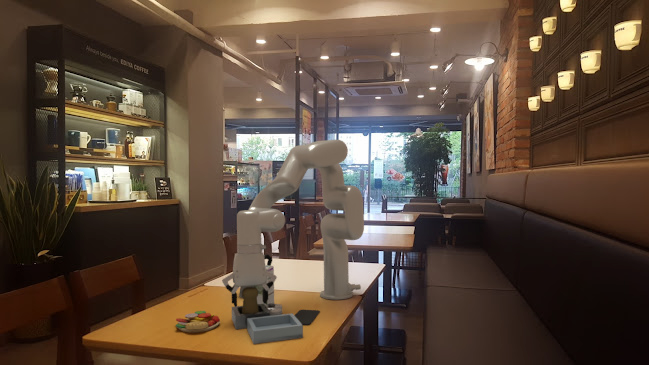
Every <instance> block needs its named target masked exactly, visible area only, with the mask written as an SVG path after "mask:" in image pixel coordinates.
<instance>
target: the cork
mask: <svg viewBox="0 0 649 365" xmlns="http://www.w3.org/2000/svg"><path fill="white" fill-rule="evenodd" d="M257 296H258V289H257V288H255V287H246V288H244V289H243V290H242V297H243V298H244V299H243V298H242V299H243V300H242V306H243V308H242V314H247V313H257V312H259V310H258V304H257Z"/></svg>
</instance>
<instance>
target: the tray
mask: <svg viewBox="0 0 649 365" xmlns="http://www.w3.org/2000/svg"><path fill="white" fill-rule="evenodd" d="M294 315H295V314H294V313H284V314H283V313H282V315H274V316H265V317H256V318H247V328H246V329H247V333H248V335H249V337H250V339H251V341H252V343H253V344H252V345H257V344H263V343H271V342H280V341H287V340H296V339H302V338H304V325H302V324H301V323H300V322H299V320H298V319H297V318H296V317H295V316H294Z"/></svg>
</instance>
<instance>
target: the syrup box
mask: <svg viewBox="0 0 649 365" xmlns="http://www.w3.org/2000/svg"><path fill="white" fill-rule="evenodd" d="M265 266H266V271H268V272H270V273H272V274H274V275H275V269H274V265H271V266H268V265H267V264H265ZM270 280H271V277H269V276H267V275H266V283H265V284H266V285H267V283H268V282H269V281H270ZM253 287H255V288H257V289H258V296H257V304H264V305H266V304H270V303H274V304H275V283H274V284H273V285H272V286H271V288H270V289H269V291H268V300H266V304H265V303H263V293H262V290H263V288H264V287H263V286H262V285H256V286H253Z"/></svg>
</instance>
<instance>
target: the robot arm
mask: <svg viewBox="0 0 649 365" xmlns="http://www.w3.org/2000/svg"><path fill="white" fill-rule="evenodd" d="M348 153H349V148H348V146H347V144H346V143H345V142H344V141H343V140H341V139H330V140H329V139H326V140H317V141H312V142H310V143H309V144H302V145H301V144H299V145H296V146H295V145H294V147H292V148H291V149H290V151H289V152H288V154H287V155H286V157H285V159H284V161H283V163H282V165H281V167H280V169H279V170H278V172H277V174H276V176H275V177H274V179H273V180H272V181H271V182H269V183H268V184H267V185H266V186H265V187H264V188H262V190H260V192H258V194H257V195H256V196H255V197H254V199H253V200H252V202H251V205H250V206H249V208H248V210H245V209H244V210H239V211H238V213H236V239H237V240H236V251H237V253H235V254H234V257H233V260H234V261H233V265H232V266H233V267H232V273H230V274H229V275H227V276H226V277H224V278H222V280H221V282H222V284H223V285H224V287H225V289H226V290H228V291H229V293H231V304H233V307H236V306H238V293H237V291H238V290H239V289H240V287H245V286H256V285H262V286H263V287H264V288H263V290H262V293H263V303H265V304H266V300H268V291H269V289H270V288H271V286H272V285H273V284H274V285H275V281H276V280H277V278H278V277H277V275H275V273H274V274H272V273H270V272H268V271H266V266H265V265H266V261H265V260H266V259H264V255H265V254H264V252H262V251H264V250H266V249H267V245H266V244H262V232H264V233H265V232H271V233H274V232H275V233H276V232H277V231H280V230H282V228H283V227H284V226H285V224H286V217H285V215H284V213H283V212H282V211H281V210H279V209H277V208H272V207H273V206H274V204H276V203H277V202H279V201H280V200H281V199H283V198H286V197H289V196H291V195H292V194H294V193H295V192H297V191H298V189H299V187H300V185H301V183H302V182H303V180H304V177H305V175H306V174H307V171H308V170H311V169H314V170H315V169H318V171H319V173H320V176H321V178H320V179H321V188H322V202H323V206H324V208H326V209H328V210H330V211H340V212H342V211H344V213H328V214H326V215H325V216H323V218H322V219H321V221H320V233H321V238H322V247H323V290H321V292H320V293H319V295H320V297H321V298H323V299H325V300H326V299H327V300H332V301H333V300H337V301H338V300H340V301H341V300H346V299H351V298H352V297H353V296H354V292H353V291H354V290H355V291H357V290H361V288H362V287H361V284H356V283H352V284H351V283H350V282H349V277H350V276H349V275H350V274H349V248H348V244H347V240H348V241H358V240H359V239H361V238H362V236H363V234H364V230H365V214H364V213H365V212H364V199H363V194H362V192H361V190H360V189H359V188H358V187H356V186H355V185H351V184H350V185H346V183H345V176H344V171H343V168H342V166H341V163H342V162H344V161H345V160H346V159H347V157H348ZM266 275H267V276H269V277H271V280H270V281H269V282H268V283H267V285H266V284H265V283H266ZM231 280H232V283H233V285H232V286H231V285H230V283H229V281H231Z"/></svg>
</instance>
